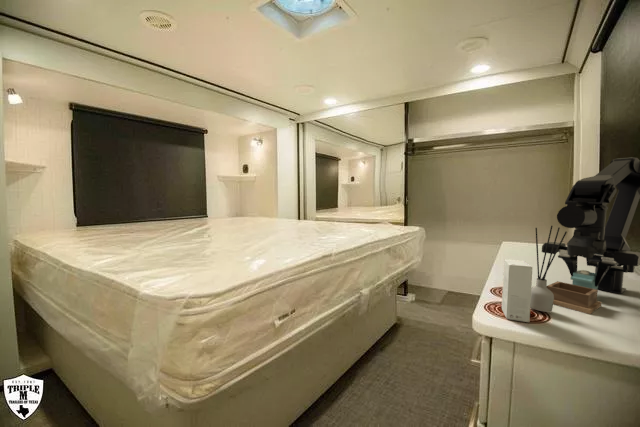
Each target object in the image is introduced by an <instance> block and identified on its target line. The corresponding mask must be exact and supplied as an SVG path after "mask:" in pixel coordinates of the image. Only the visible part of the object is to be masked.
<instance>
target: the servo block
mask: <svg viewBox="0 0 640 427" xmlns="http://www.w3.org/2000/svg"><path fill="white" fill-rule="evenodd" d="M596 274H597V273H595V272H591V271H589V270H584V269H581V270H579V269H578V270H577V272H574V273H573V276H572V277H571V276H570V280H572V283H571V284H573V285H578V286H582V287H587V288H592V289H596V290H598V291H599V289H598V286H597V287H596V286H595V278H596Z"/></svg>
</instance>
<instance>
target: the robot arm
mask: <svg viewBox="0 0 640 427" xmlns="http://www.w3.org/2000/svg"><path fill="white" fill-rule="evenodd" d="M570 189H571V190H570V191H569V193H568V196H567V198H566V200H565V202H564V204H565V205H566V206H563V207H562V208H560V210H559V211H558V212H557V214H556V219H557V222H558V223H559V224H560V225H561V226H562V227H563V228H566V229H574V231H573V235H572V237H571V238H570V239H569V241H568V242H567V243H563V242H562V243H561V245H560V247H559V249H558V251H557V253H558V255H557V257H558V259H562V260H563V262H565V264H566V266H567V268H568V272H569V274H570V278H571V277H572V276H573V273H574V272H577V271H578V257H582V258H585V259H586V266H587V267H588V266H589V267H594V268H595V270H594V273H597V274H596V278H595V286H596V287H597V286H598V290H601V291H604V292H609V293H614V294H620V295H621V294H624V293H625V292H626V291H627V288H626V287H623V285H624V284H623V282H624V273H625V274H626V273H631V274H632V273H634V272H635V267H639V266H640V252H638V251H631V247H630V246H629V244H628V242H627V240H626V238H627V235H628V232H629V231H630V230H629V229H630V226H631V224H632V221H633V218H634V215H635V213H636V210H637V207H638V204H639V201H640V159H639V158H638V157H633V156H631V157H620V158H615V159H611V161H610V163H609V164H608V165H607V166H606V167H604V168H603V169H602V170H600V171H599V172H598V173H596V174H595V175H593V176H588V177H583V178H582V179H578V180H577V181H576V182H575V183H574V185H572V187H571V188H570ZM615 195H616V196H615ZM614 196H615V199H614V201H613V204H612V207H611V210H610V212H609V215H608V217H607V212H608V210H609V207H608V204H609V203H611V202H612V200H613V198H614ZM606 219H607V221H606ZM559 243H560V242H557V241H556V242H555V246H554V249H553V253H552V255H554V253H555V251H556V249H557V247H558V245H559ZM553 244H554V241H549V244H548V248H547V253H546V254H549V255H550V254H551V251H552V248H553ZM546 246H547V242H544V243H543V244H542V246H541V253H543V254H545V250H546Z"/></svg>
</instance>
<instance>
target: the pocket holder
mask: <svg viewBox="0 0 640 427" xmlns="http://www.w3.org/2000/svg"><path fill="white" fill-rule="evenodd" d="M547 288H548V289H549V290H550V291H551V292H552V293H553V295H554V301H553V305H554V306H558V307H562V308H566V309H570V310H573V311H577V312H580V313H584V314H587V315H592V314H593V313H594V312H595V311H597V310H598V309H599V308H601V307H602V301H599V300H598V293H599V289H598V290H596V289H592V288H587V287H582V286H578V285H573V284H572V283H568V282H562V281H558V280H557V281H555V282H553V283H551V284H547Z"/></svg>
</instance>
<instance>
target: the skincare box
mask: <svg viewBox="0 0 640 427" xmlns="http://www.w3.org/2000/svg"><path fill="white" fill-rule="evenodd" d="M502 275H503V278H502V296H501V310H502V312H503V315H504V316H505V318H506V320H511V321H518V322H524V323H525V322H526V323H530V321H531V320H530V319H531V318H530V317H531V311H530V309H531V308H530V304H531V288H532V287H533V286H532V284H533V282H532V281H533V266H532V265H531V264H529V263H528V262H526V260H517V259H509V258H508V259H503V272H502Z"/></svg>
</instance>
